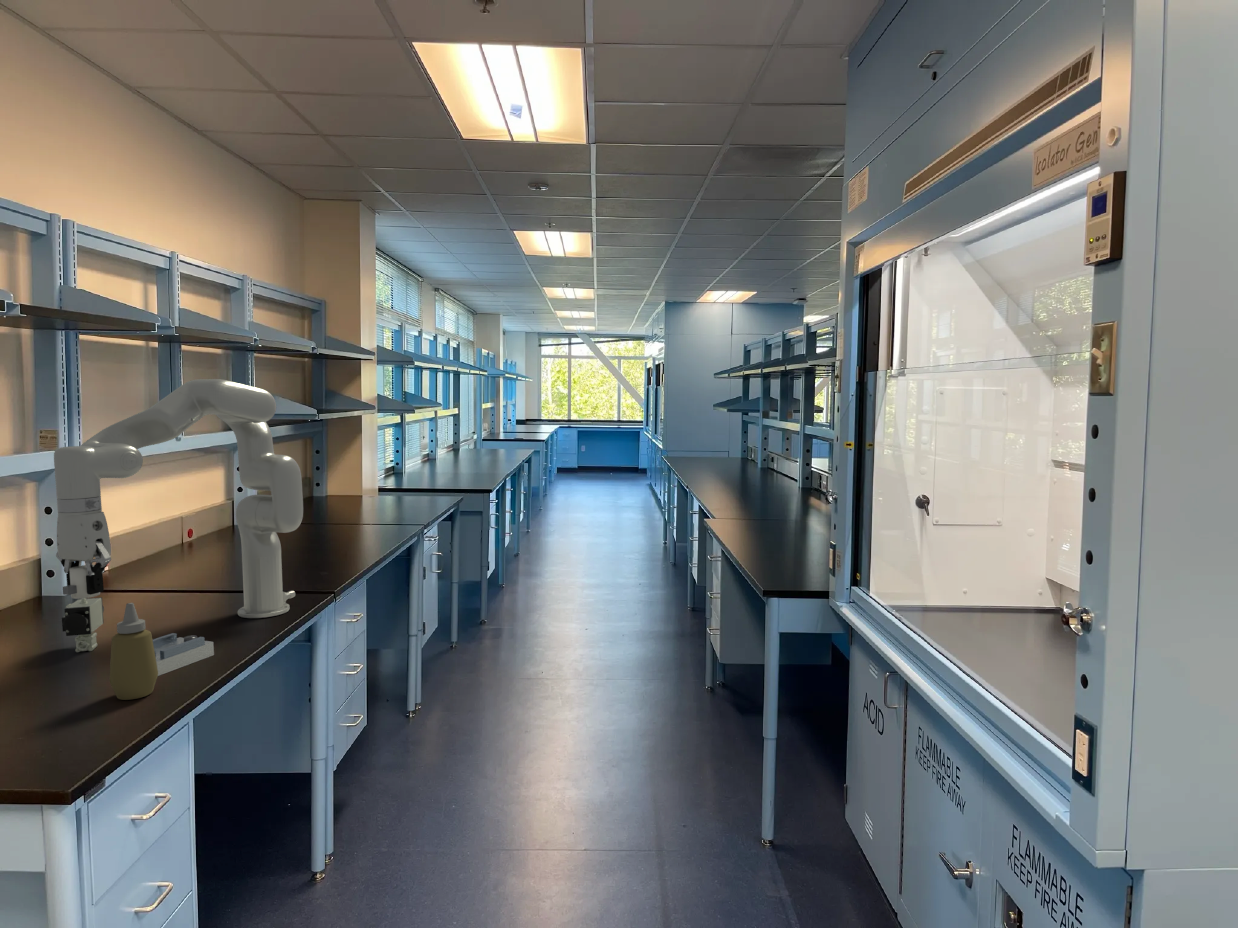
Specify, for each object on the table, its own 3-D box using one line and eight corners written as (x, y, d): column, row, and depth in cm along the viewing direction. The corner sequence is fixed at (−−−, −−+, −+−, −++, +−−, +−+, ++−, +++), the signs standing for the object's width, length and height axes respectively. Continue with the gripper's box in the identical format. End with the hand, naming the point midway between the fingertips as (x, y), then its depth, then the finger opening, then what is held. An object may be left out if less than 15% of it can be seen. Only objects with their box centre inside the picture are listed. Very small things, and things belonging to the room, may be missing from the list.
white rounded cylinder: (89, 591, 165) (87, 564, 165) (105, 593, 163) (104, 565, 163) (57, 599, 159) (55, 570, 158) (74, 601, 157) (72, 572, 157)
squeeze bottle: (167, 686, 153) (163, 597, 152) (144, 702, 145) (139, 608, 144) (126, 687, 153) (121, 598, 152) (100, 703, 145) (94, 609, 143)
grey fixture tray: (180, 650, 176) (179, 630, 175) (213, 654, 172) (212, 634, 172) (122, 670, 163) (121, 649, 162) (157, 676, 159) (156, 654, 159)
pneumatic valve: (106, 640, 183) (103, 591, 182) (89, 656, 172) (86, 603, 170) (79, 643, 181) (76, 592, 180) (60, 659, 170) (57, 605, 169)
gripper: (126, 505, 161) (132, 590, 163) (69, 501, 167) (74, 584, 168) (91, 510, 154) (97, 599, 155) (32, 506, 160) (39, 592, 161)
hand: (85, 590), depth 162 cm, fingers closed on white rounded cylinder, 5 cm apart
